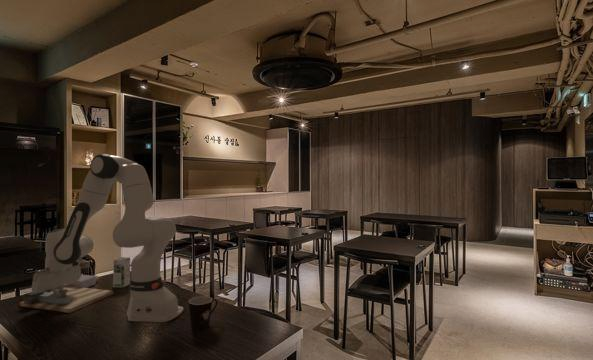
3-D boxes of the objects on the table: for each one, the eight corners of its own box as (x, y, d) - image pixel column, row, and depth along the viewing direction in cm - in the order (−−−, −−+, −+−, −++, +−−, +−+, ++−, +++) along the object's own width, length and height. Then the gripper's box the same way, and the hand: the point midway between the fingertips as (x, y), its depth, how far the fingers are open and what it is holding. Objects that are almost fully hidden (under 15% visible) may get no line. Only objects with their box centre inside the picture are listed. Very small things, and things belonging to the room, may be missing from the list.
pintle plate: (113, 294, 160) (113, 279, 160) (69, 313, 137) (69, 296, 137) (67, 288, 166) (68, 274, 166) (18, 306, 144) (18, 289, 143)
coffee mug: (190, 333, 121) (190, 306, 121) (186, 324, 128) (186, 298, 128) (222, 327, 126) (222, 301, 126) (216, 318, 134) (216, 293, 134)
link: (73, 301, 145) (73, 295, 145) (62, 305, 140) (62, 299, 140) (41, 296, 151) (41, 290, 151) (29, 300, 146) (29, 294, 146)
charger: (105, 281, 179) (80, 290, 164) (91, 280, 181) (65, 289, 167) (105, 272, 179) (81, 281, 164) (91, 271, 181) (65, 279, 167)
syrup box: (112, 287, 169) (112, 258, 169) (120, 283, 175) (120, 256, 175) (122, 288, 168) (122, 259, 168) (130, 284, 174) (130, 256, 174)
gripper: (39, 272, 138) (39, 305, 138) (83, 260, 157) (83, 289, 157) (27, 271, 139) (27, 304, 139) (72, 259, 159) (72, 288, 159)
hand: (57, 296), depth 149 cm, fingers closed
